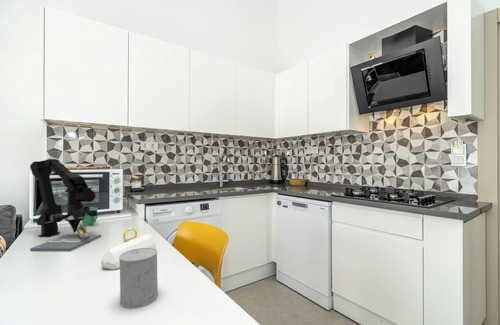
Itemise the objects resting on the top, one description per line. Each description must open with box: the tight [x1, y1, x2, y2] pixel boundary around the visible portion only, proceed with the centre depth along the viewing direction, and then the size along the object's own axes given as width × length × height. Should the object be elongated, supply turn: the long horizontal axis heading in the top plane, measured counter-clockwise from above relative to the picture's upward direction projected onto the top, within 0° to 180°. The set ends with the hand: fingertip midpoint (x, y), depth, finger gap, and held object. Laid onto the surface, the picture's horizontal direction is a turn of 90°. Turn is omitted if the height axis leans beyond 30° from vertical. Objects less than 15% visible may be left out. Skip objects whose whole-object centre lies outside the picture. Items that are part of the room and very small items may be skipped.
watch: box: [122, 227, 138, 242], centre depth 120 cm, size 6×3×6 cm, turn 140°
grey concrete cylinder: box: [119, 248, 159, 310], centre depth 69 cm, size 10×10×12 cm
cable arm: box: [76, 224, 91, 239], centre depth 122 cm, size 19×4×3 cm, turn 41°
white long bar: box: [100, 233, 157, 271], centre depth 97 cm, size 7×7×24 cm
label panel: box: [29, 234, 102, 252], centre depth 117 cm, size 19×20×2 cm
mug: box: [81, 206, 99, 227], centre depth 150 cm, size 15×10×10 cm
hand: (74, 232), depth 125 cm, fingers closed
